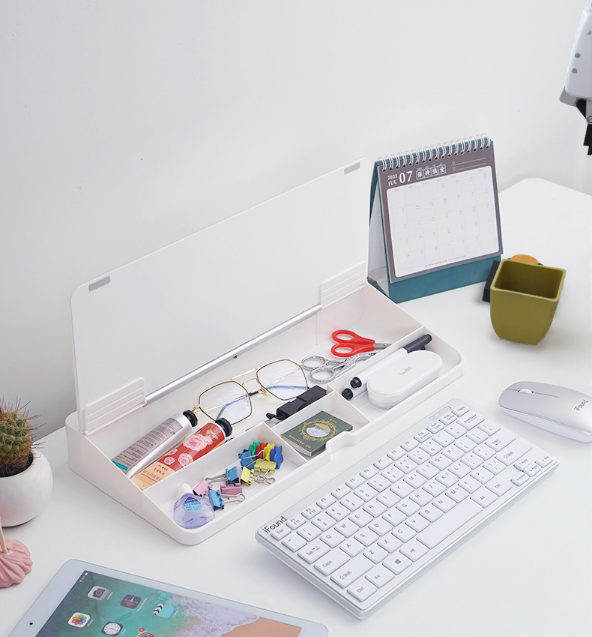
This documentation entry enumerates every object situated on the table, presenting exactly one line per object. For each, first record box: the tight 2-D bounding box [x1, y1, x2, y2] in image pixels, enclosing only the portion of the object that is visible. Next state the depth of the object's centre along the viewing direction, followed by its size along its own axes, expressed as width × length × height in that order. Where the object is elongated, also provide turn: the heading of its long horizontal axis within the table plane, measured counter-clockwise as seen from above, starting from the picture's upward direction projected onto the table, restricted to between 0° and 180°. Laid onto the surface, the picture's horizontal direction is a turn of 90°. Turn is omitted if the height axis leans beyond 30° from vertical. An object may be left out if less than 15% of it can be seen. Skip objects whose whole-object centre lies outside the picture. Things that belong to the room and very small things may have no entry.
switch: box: [481, 257, 543, 303], centre depth 119 cm, size 10×9×4 cm
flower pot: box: [489, 258, 567, 346], centre depth 109 cm, size 9×9×9 cm
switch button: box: [510, 253, 539, 265], centre depth 118 cm, size 4×4×2 cm
